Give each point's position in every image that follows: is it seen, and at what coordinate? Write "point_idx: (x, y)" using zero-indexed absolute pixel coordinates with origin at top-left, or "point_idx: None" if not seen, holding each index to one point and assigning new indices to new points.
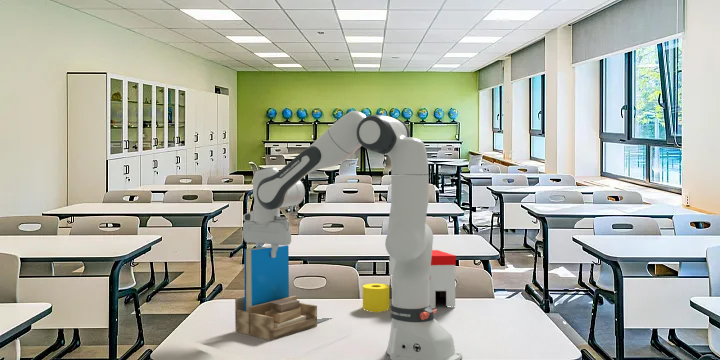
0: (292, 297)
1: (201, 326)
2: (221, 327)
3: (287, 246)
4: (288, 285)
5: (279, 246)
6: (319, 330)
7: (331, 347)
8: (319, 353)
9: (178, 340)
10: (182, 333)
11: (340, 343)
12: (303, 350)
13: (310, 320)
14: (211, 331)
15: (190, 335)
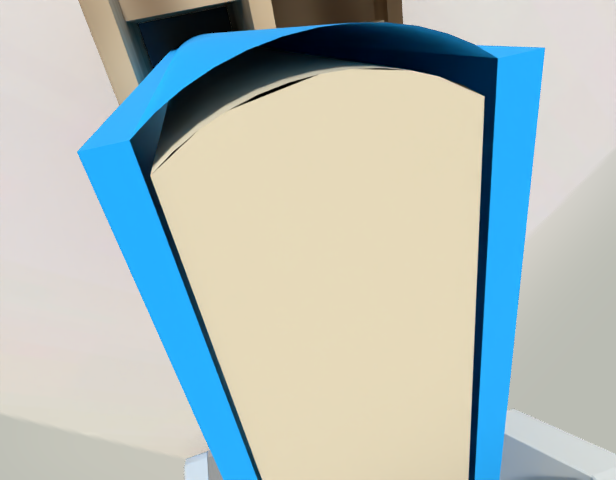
0: (273, 18)
1: (58, 369)
2: (121, 314)
3: (514, 98)
4: (269, 42)
5: (494, 379)
6: (433, 2)
7: (586, 116)
8: (585, 178)
9: (205, 443)
10: (128, 429)
11: (590, 61)
12: (536, 200)
13: (399, 12)
14: (160, 354)
15: (170, 413)
